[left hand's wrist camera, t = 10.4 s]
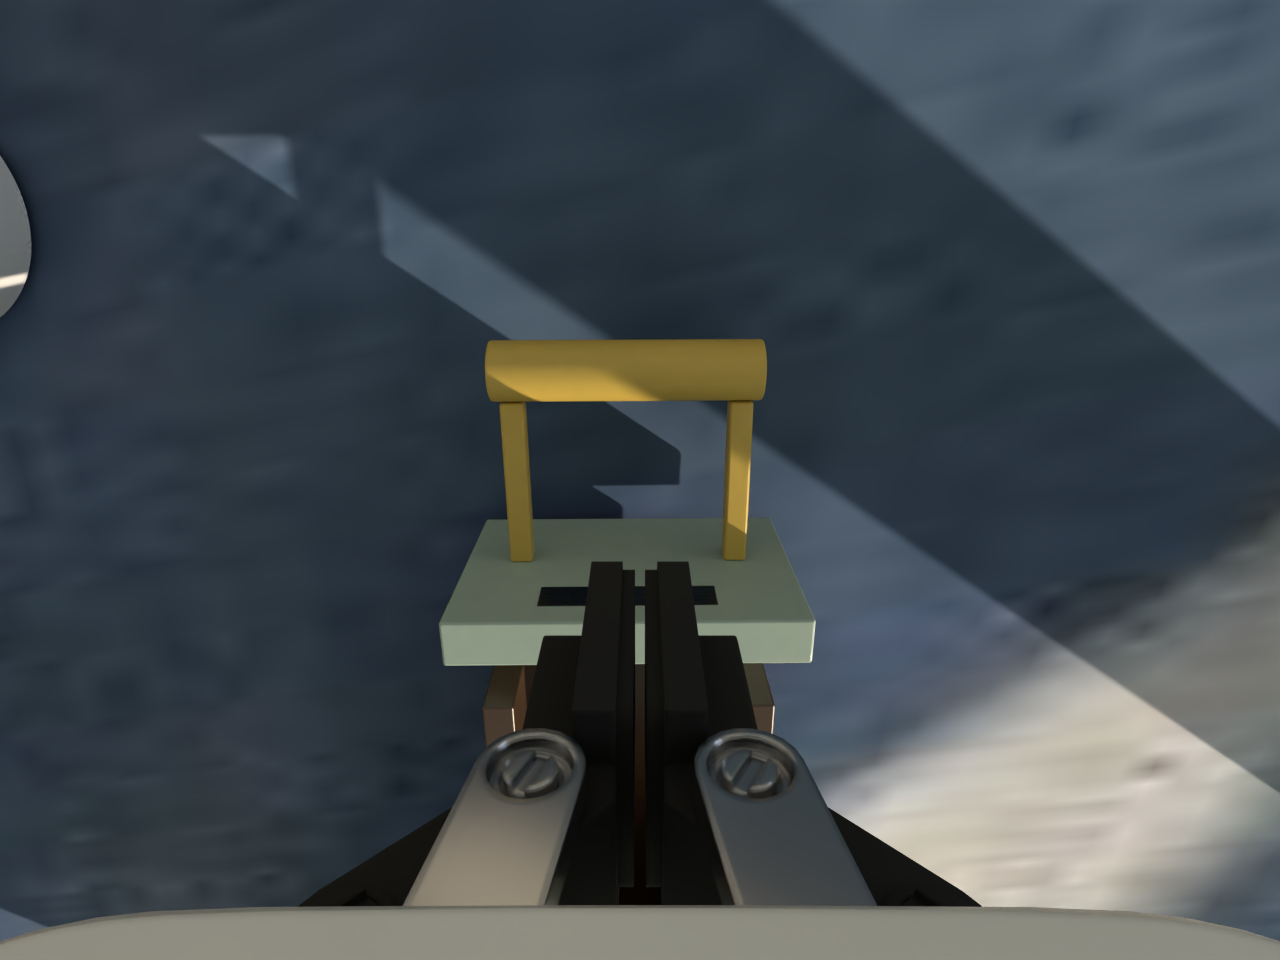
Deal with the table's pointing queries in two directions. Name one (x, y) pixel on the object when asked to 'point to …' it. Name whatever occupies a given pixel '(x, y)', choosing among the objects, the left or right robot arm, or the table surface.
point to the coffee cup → (12, 240)
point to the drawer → (622, 537)
